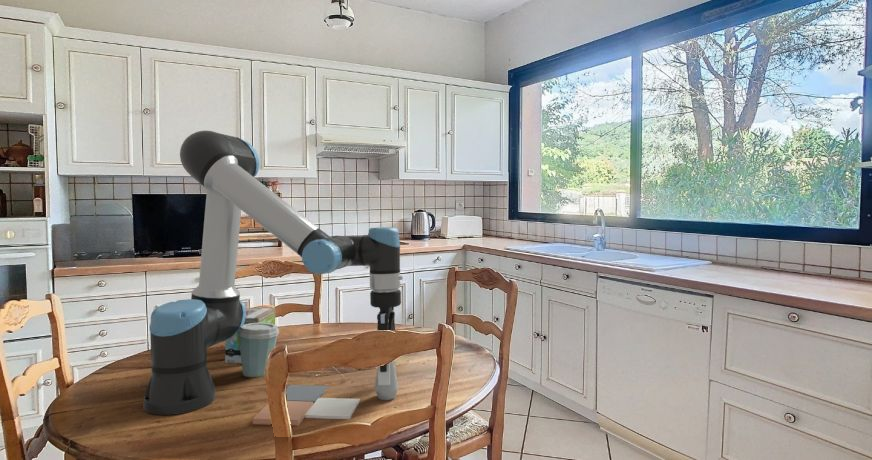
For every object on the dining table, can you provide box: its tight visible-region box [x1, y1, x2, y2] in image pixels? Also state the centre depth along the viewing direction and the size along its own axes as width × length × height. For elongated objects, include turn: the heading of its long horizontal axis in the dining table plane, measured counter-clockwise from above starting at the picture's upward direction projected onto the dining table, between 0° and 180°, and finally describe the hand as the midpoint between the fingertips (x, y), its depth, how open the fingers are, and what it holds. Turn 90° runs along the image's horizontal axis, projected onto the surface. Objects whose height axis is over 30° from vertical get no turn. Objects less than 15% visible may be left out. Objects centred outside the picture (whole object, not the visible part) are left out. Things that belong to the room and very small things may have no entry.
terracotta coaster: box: [252, 401, 313, 426], centre depth 111 cm, size 10×10×1 cm
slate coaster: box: [285, 384, 329, 404], centre depth 123 cm, size 10×10×1 cm
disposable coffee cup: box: [238, 323, 280, 378], centre depth 136 cm, size 11×11×15 cm
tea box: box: [224, 307, 276, 364], centre depth 151 cm, size 15×10×15 cm, turn 179°
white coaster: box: [304, 397, 360, 420], centre depth 114 cm, size 10×10×1 cm
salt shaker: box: [374, 361, 399, 402], centre depth 121 cm, size 6×6×13 cm
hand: (387, 375), depth 123 cm, fingers open, 13 cm apart
